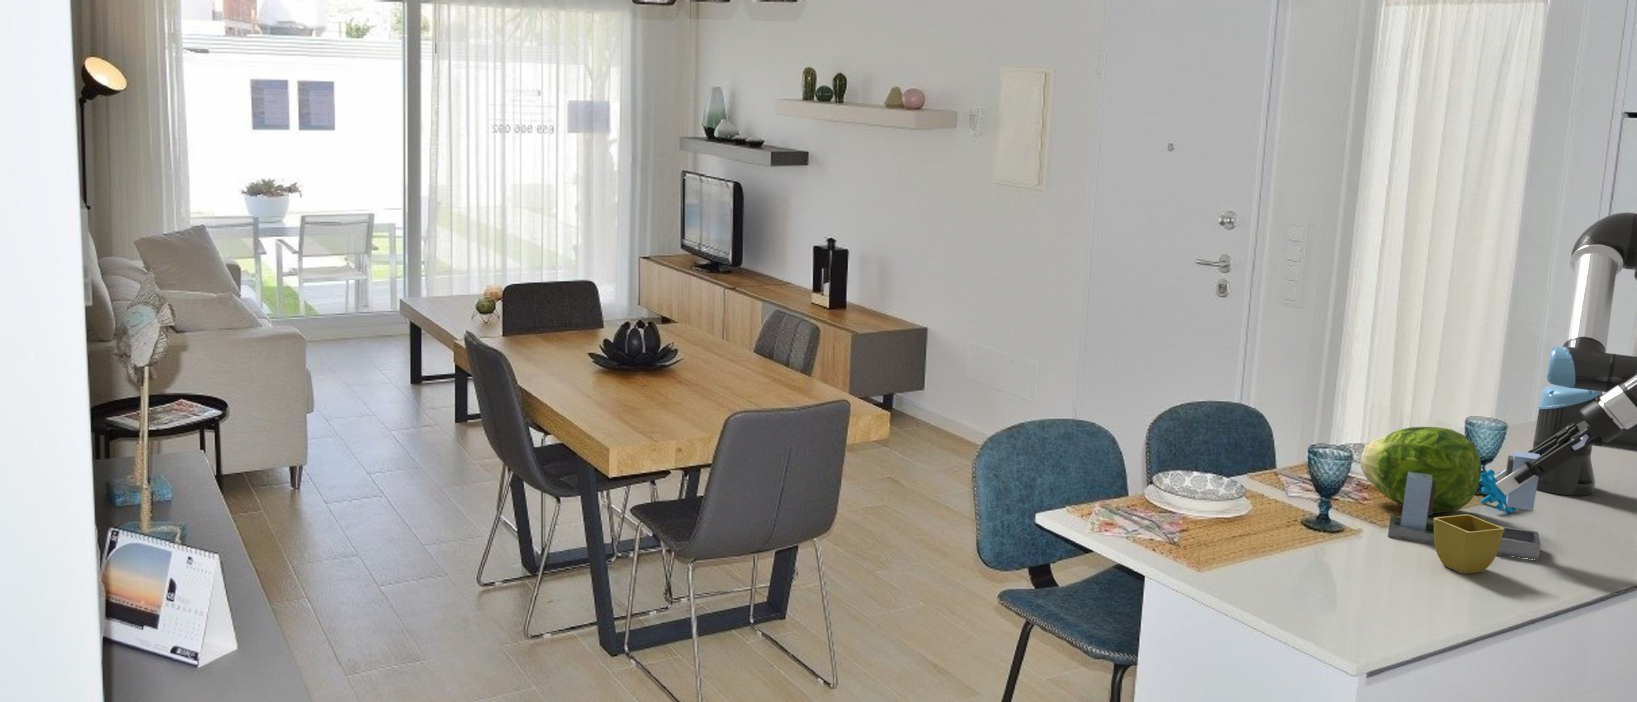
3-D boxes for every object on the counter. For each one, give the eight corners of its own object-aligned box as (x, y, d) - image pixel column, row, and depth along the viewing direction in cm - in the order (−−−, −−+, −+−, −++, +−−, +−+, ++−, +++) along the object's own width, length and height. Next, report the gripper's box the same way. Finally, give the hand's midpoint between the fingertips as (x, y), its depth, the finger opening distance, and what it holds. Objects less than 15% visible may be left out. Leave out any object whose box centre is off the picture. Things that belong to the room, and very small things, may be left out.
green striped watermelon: (1373, 486, 309) (1384, 406, 305) (1485, 512, 294) (1498, 428, 290) (1341, 504, 295) (1352, 421, 291) (1457, 532, 280) (1470, 445, 276)
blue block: (1501, 499, 272) (1509, 449, 270) (1531, 504, 270) (1539, 454, 268) (1502, 505, 268) (1510, 455, 266) (1533, 510, 266) (1541, 459, 264)
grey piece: (1389, 524, 283) (1397, 467, 281) (1535, 547, 273) (1545, 488, 271) (1387, 536, 276) (1395, 478, 273) (1538, 561, 265) (1547, 500, 263)
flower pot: (1426, 562, 262) (1432, 516, 260) (1462, 558, 265) (1468, 513, 263) (1462, 579, 254) (1469, 532, 252) (1499, 575, 257) (1506, 528, 255)
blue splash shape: (1496, 509, 291) (1476, 466, 296) (1474, 521, 296) (1456, 479, 301) (1533, 511, 296) (1513, 469, 301) (1511, 524, 300) (1492, 482, 305)
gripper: (1630, 441, 251) (1515, 513, 261) (1619, 420, 267) (1511, 489, 277) (1601, 408, 252) (1488, 482, 262) (1592, 390, 268) (1485, 459, 278)
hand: (1500, 485), depth 269 cm, fingers closed on blue block, 4 cm apart
